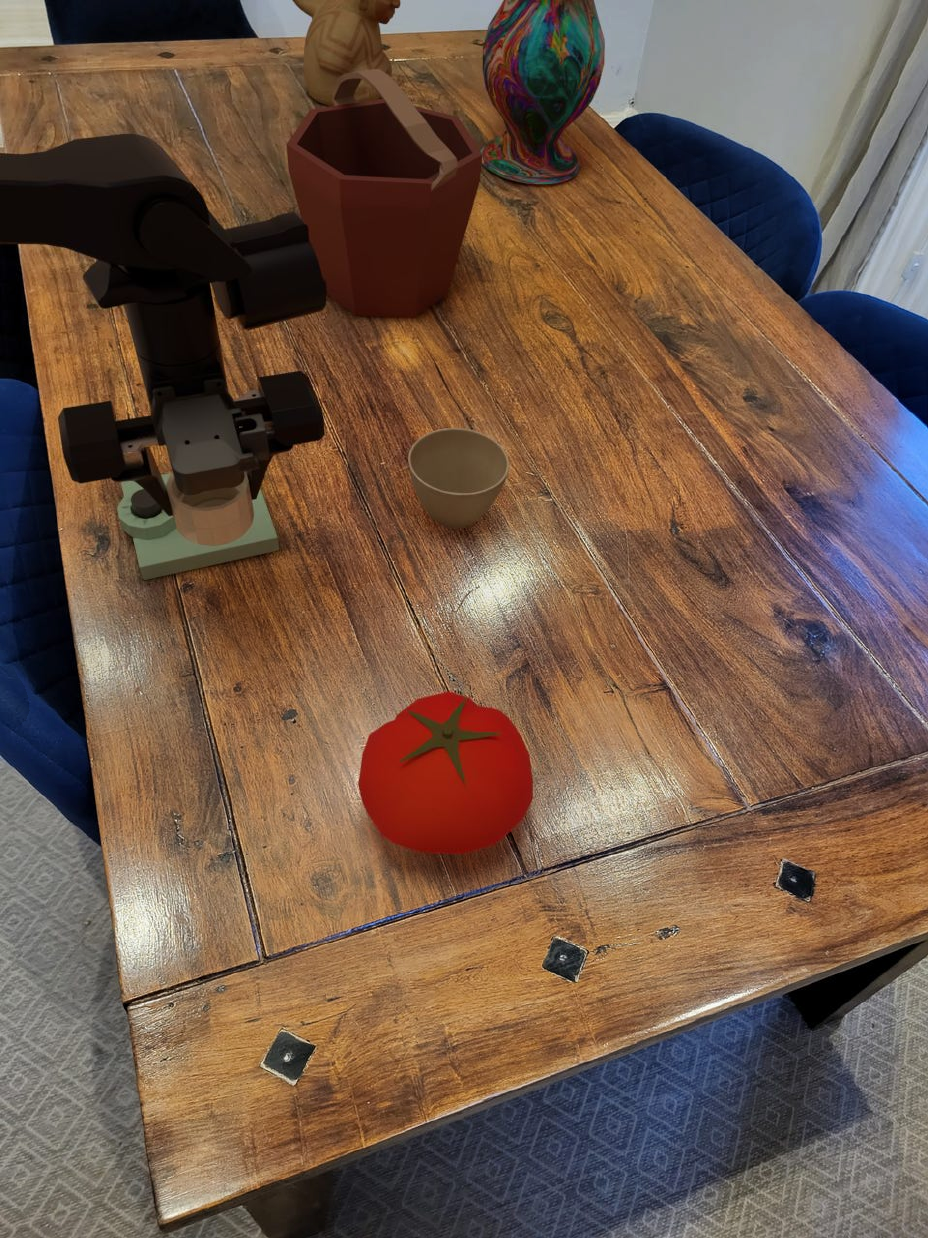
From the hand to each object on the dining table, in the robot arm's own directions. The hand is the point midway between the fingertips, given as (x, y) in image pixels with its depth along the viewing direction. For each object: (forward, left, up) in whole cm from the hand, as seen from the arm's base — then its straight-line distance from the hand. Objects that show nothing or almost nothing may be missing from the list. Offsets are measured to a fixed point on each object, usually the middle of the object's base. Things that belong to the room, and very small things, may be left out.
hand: (211, 504), depth 73 cm
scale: (-1, +10, -12) cm, 16 cm away
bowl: (0, 0, -2) cm, 2 cm away
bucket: (+30, +47, -12) cm, 58 cm away
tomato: (+11, -27, -12) cm, 31 cm away
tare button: (-5, +10, -9) cm, 15 cm away
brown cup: (+24, +4, -12) cm, 28 cm away
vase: (+65, +76, -12) cm, 101 cm away
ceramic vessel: (+43, +107, -12) cm, 117 cm away
